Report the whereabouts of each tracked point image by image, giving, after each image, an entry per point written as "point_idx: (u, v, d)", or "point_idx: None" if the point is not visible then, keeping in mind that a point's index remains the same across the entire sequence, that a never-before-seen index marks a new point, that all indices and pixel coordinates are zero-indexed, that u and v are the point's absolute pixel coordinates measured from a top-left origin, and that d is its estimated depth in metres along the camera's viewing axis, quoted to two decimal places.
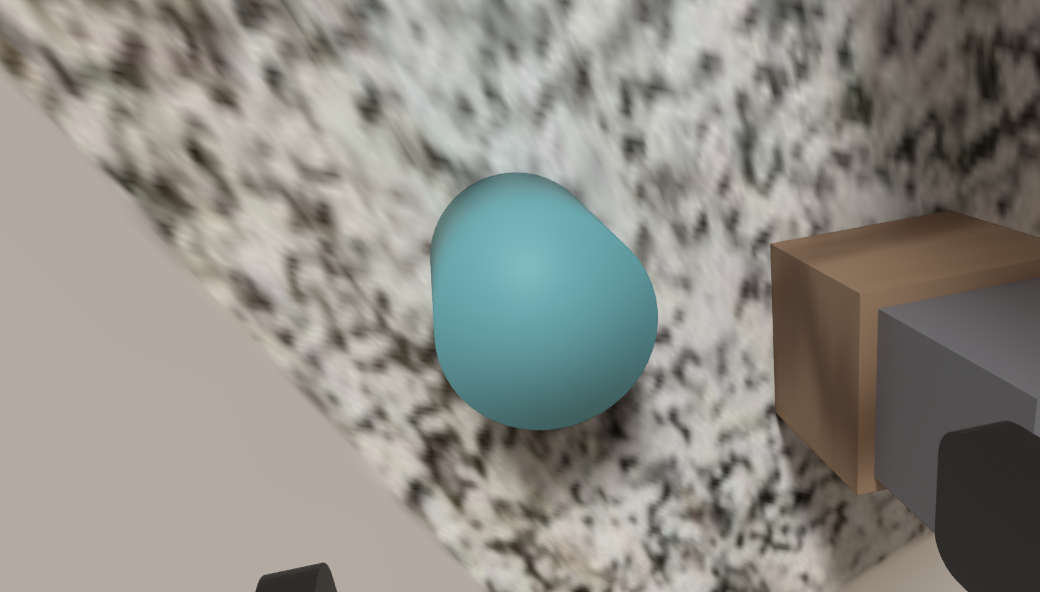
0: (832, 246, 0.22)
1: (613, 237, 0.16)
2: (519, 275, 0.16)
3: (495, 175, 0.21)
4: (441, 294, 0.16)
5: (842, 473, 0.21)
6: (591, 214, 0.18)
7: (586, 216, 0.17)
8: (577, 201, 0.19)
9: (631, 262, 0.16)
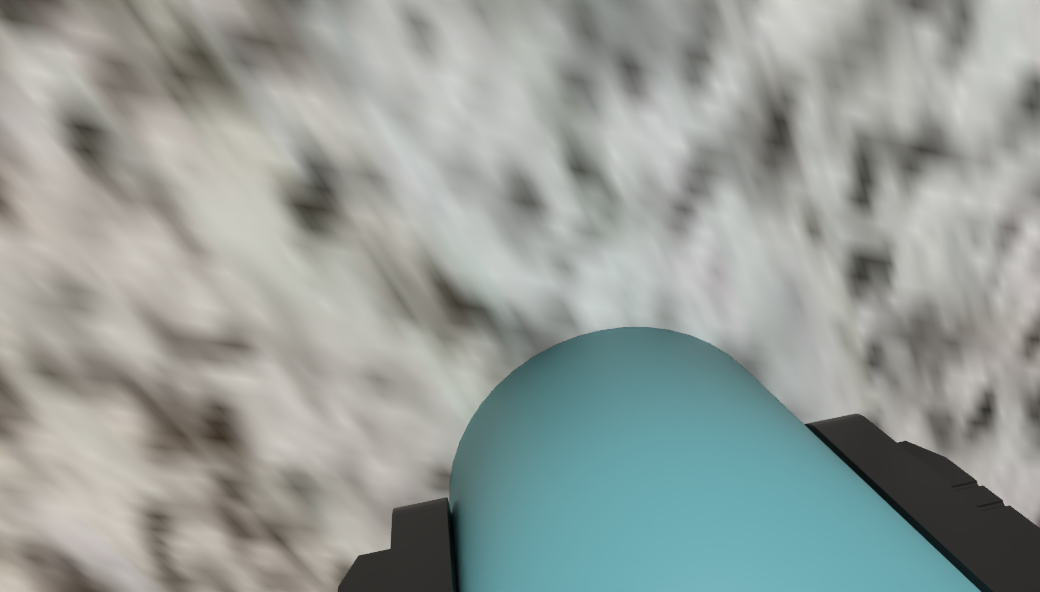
0: None
1: None
2: None
3: (587, 335, 0.10)
4: None
5: None
6: (880, 501, 0.07)
7: (935, 574, 0.06)
8: (800, 426, 0.08)
9: None
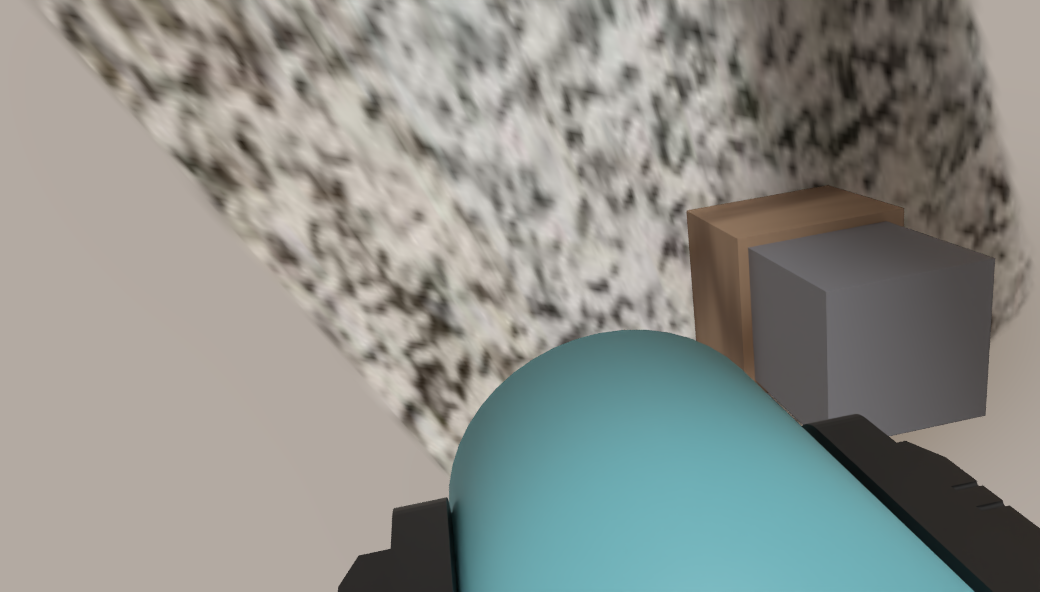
0: (731, 211, 0.28)
1: None
2: None
3: (586, 338, 0.10)
4: None
5: None
6: (878, 504, 0.07)
7: (931, 577, 0.06)
8: (798, 429, 0.08)
9: None
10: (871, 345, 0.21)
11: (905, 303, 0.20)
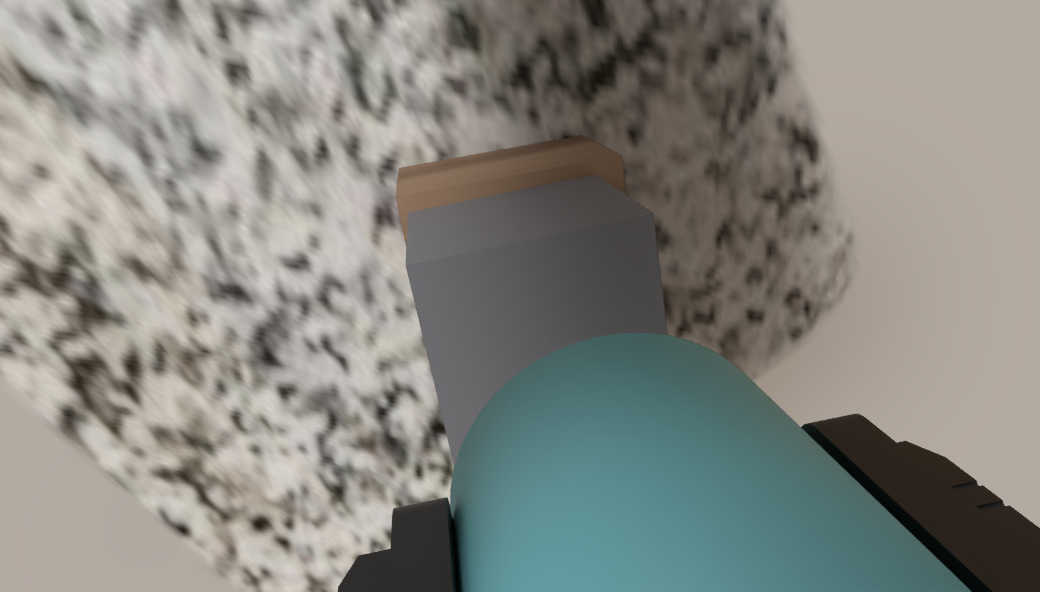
0: (441, 166, 0.22)
1: None
2: None
3: (587, 340, 0.10)
4: None
5: None
6: (879, 508, 0.07)
7: (933, 582, 0.06)
8: (800, 432, 0.08)
9: None
10: (491, 339, 0.15)
11: (530, 280, 0.15)
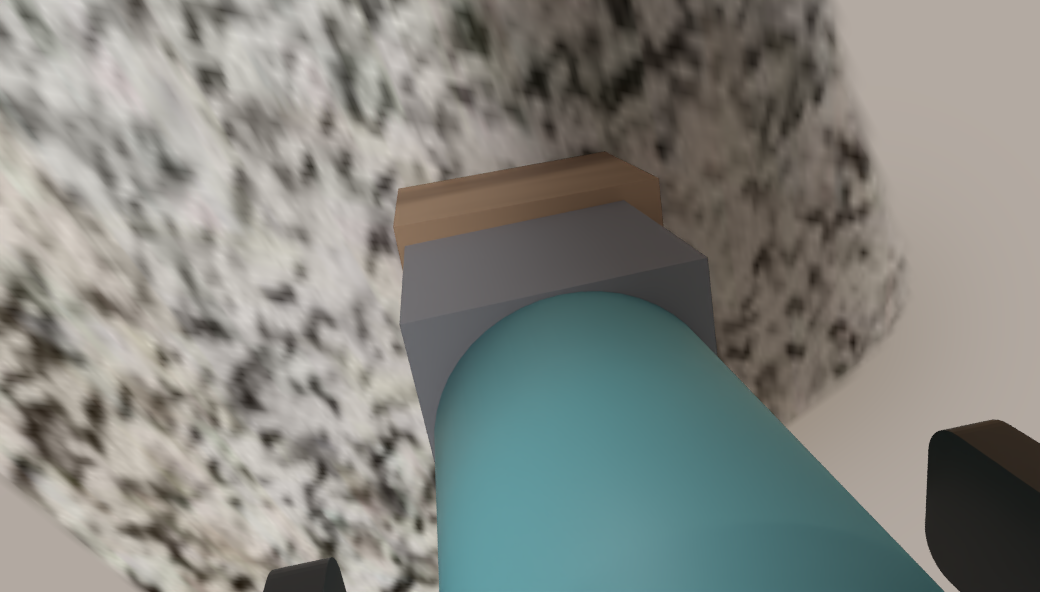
0: (446, 187, 0.19)
1: (889, 549, 0.06)
2: None
3: (548, 299, 0.11)
4: None
5: None
6: (771, 419, 0.08)
7: (791, 462, 0.07)
8: (719, 366, 0.10)
9: None
10: None
11: None
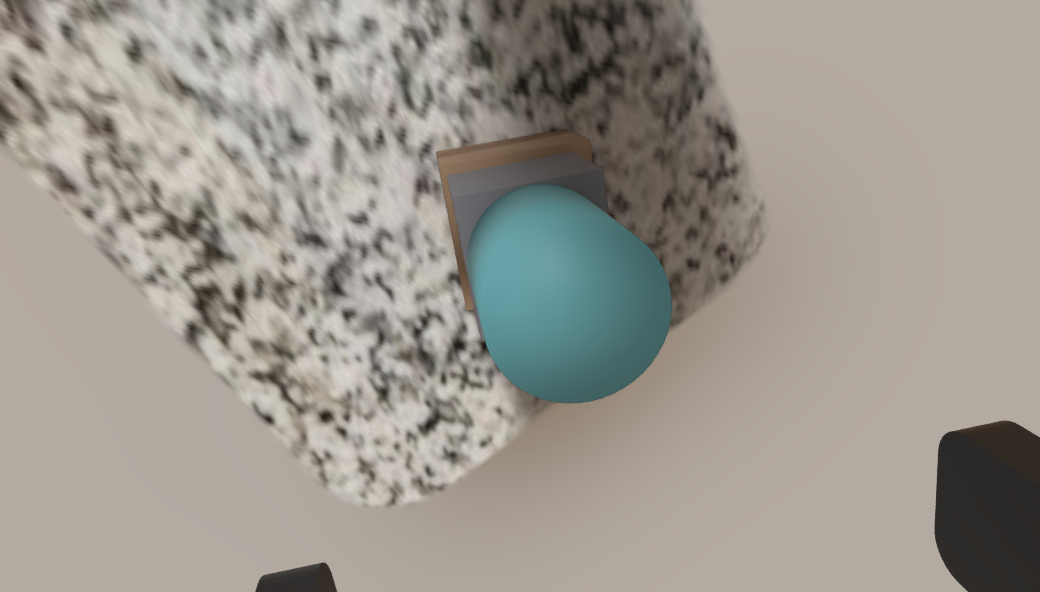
0: (466, 149, 0.32)
1: (633, 235, 0.18)
2: (554, 268, 0.18)
3: (524, 186, 0.24)
4: (488, 285, 0.18)
5: None
6: None
7: (609, 218, 0.19)
8: (598, 207, 0.22)
9: (648, 256, 0.19)
10: None
11: None
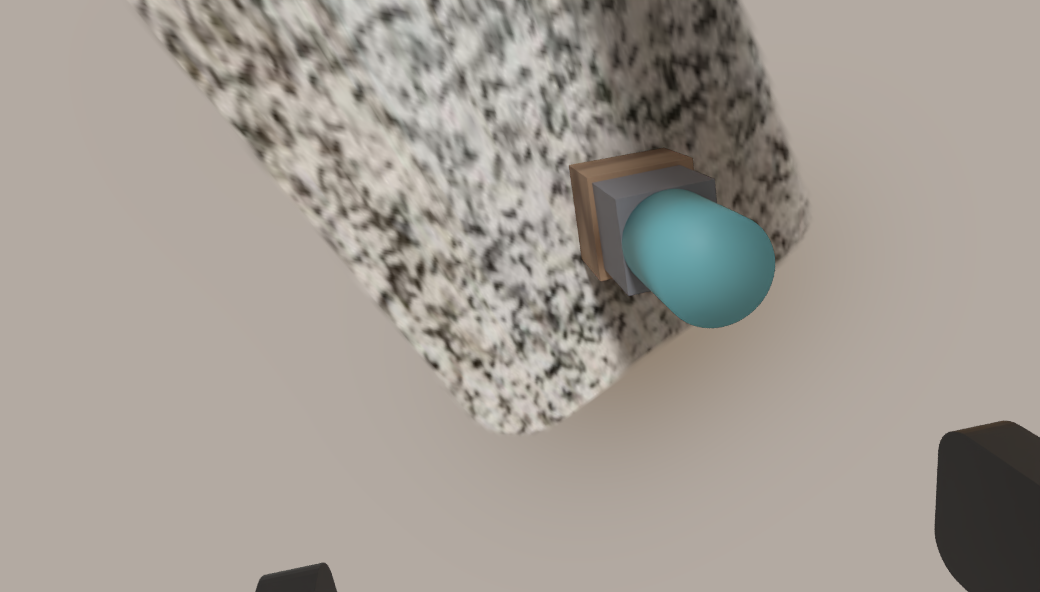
0: (595, 164, 0.43)
1: (754, 222, 0.30)
2: (705, 242, 0.30)
3: (663, 190, 0.35)
4: (665, 252, 0.30)
5: (596, 274, 0.42)
6: None
7: None
8: None
9: (763, 236, 0.30)
10: None
11: None
